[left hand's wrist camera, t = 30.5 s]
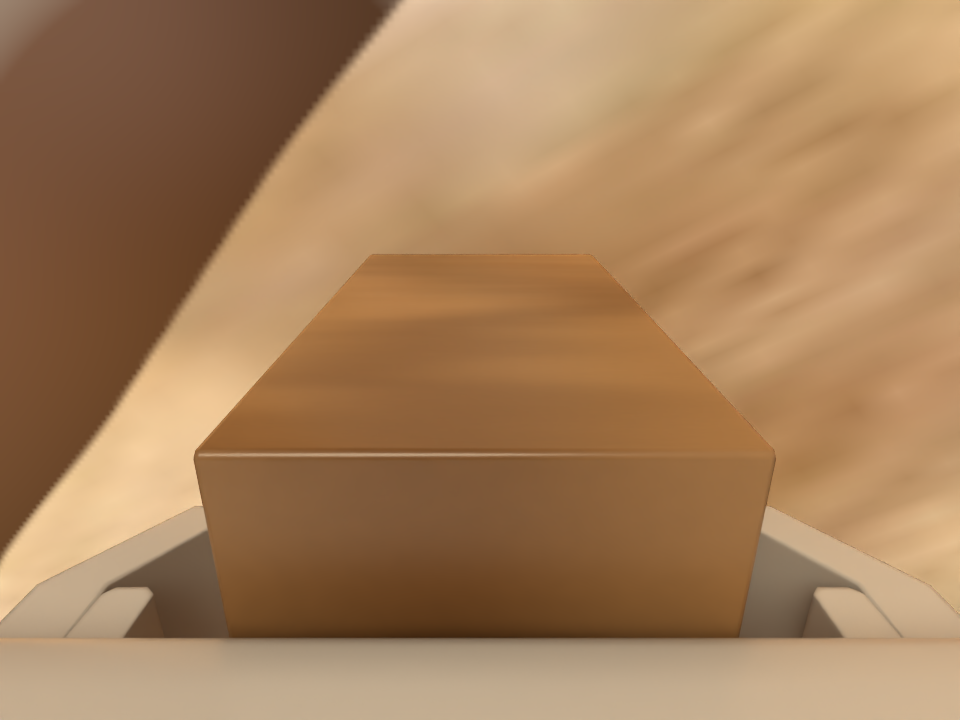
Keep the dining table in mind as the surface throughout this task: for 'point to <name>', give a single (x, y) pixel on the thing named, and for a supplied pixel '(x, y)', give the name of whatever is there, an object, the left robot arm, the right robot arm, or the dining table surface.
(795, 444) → the dining table surface
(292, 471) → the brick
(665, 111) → the dining table surface
